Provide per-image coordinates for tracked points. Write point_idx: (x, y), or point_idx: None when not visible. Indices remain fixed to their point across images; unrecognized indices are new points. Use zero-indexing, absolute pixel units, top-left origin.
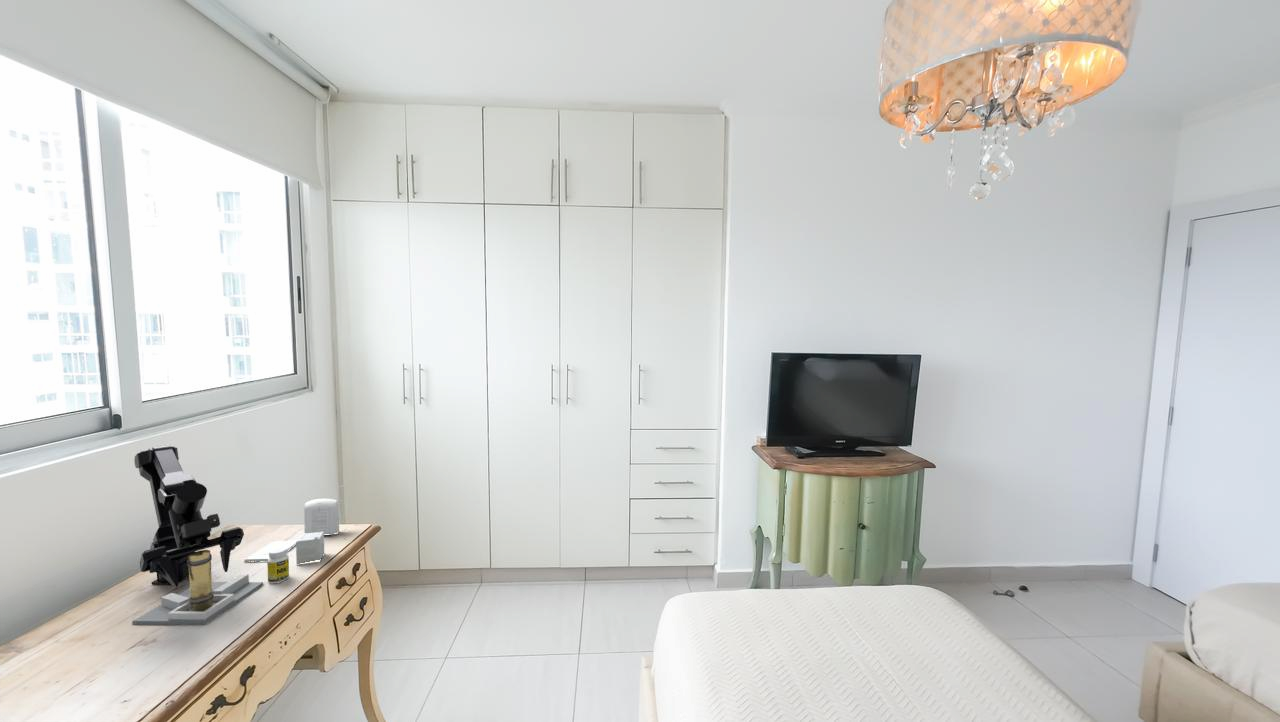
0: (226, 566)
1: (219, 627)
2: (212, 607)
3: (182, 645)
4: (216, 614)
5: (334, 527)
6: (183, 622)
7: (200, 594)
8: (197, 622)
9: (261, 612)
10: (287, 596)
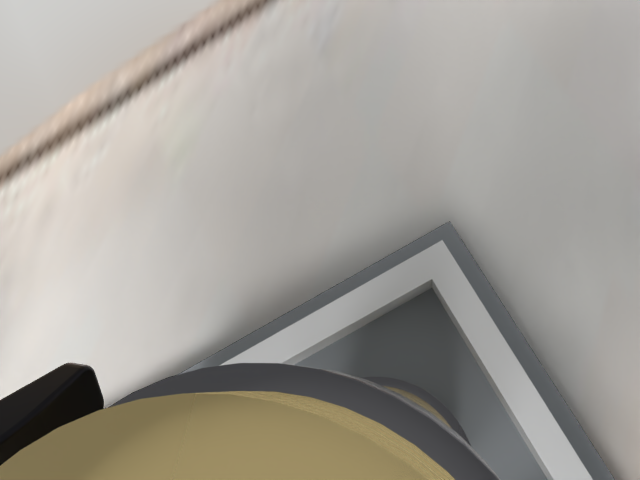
0: (37, 393)
1: (409, 111)
2: (367, 291)
3: (628, 69)
4: (360, 275)
5: None
6: (543, 371)
7: (410, 394)
8: (480, 272)
9: (196, 90)
10: (21, 163)
